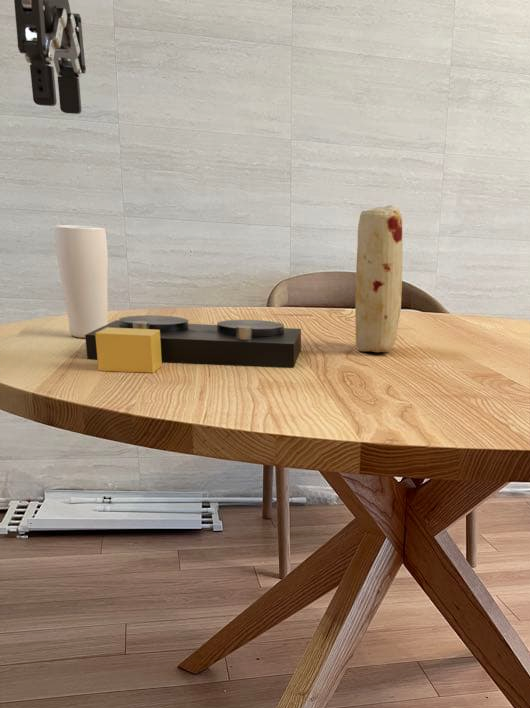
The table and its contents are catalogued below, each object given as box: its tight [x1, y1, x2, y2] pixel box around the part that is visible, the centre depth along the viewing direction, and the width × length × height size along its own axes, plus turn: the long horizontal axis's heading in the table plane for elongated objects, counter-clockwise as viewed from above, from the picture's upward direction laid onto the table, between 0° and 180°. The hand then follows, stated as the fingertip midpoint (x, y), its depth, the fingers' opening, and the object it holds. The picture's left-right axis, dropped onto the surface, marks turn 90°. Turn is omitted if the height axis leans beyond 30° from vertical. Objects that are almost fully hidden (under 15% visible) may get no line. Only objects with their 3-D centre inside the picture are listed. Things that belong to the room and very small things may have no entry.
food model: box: [354, 204, 404, 353], centre depth 118 cm, size 10×7×20 cm
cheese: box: [95, 327, 163, 374], centre depth 99 cm, size 6×5×4 cm
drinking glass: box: [54, 224, 109, 339], centre depth 118 cm, size 7×7×15 cm
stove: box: [84, 314, 302, 369], centre depth 111 cm, size 26×14×5 cm, turn 93°
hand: (58, 109), depth 92 cm, fingers open, 8 cm apart
